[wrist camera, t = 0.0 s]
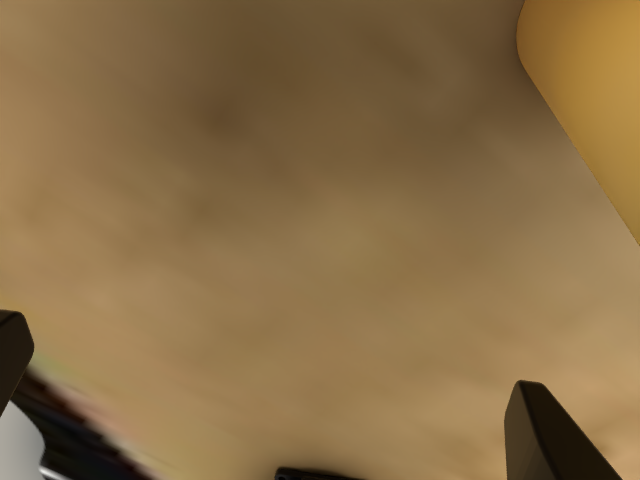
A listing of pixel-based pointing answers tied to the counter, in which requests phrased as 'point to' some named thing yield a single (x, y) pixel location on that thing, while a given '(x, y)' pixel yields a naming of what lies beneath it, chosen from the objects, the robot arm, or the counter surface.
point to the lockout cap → (591, 86)
